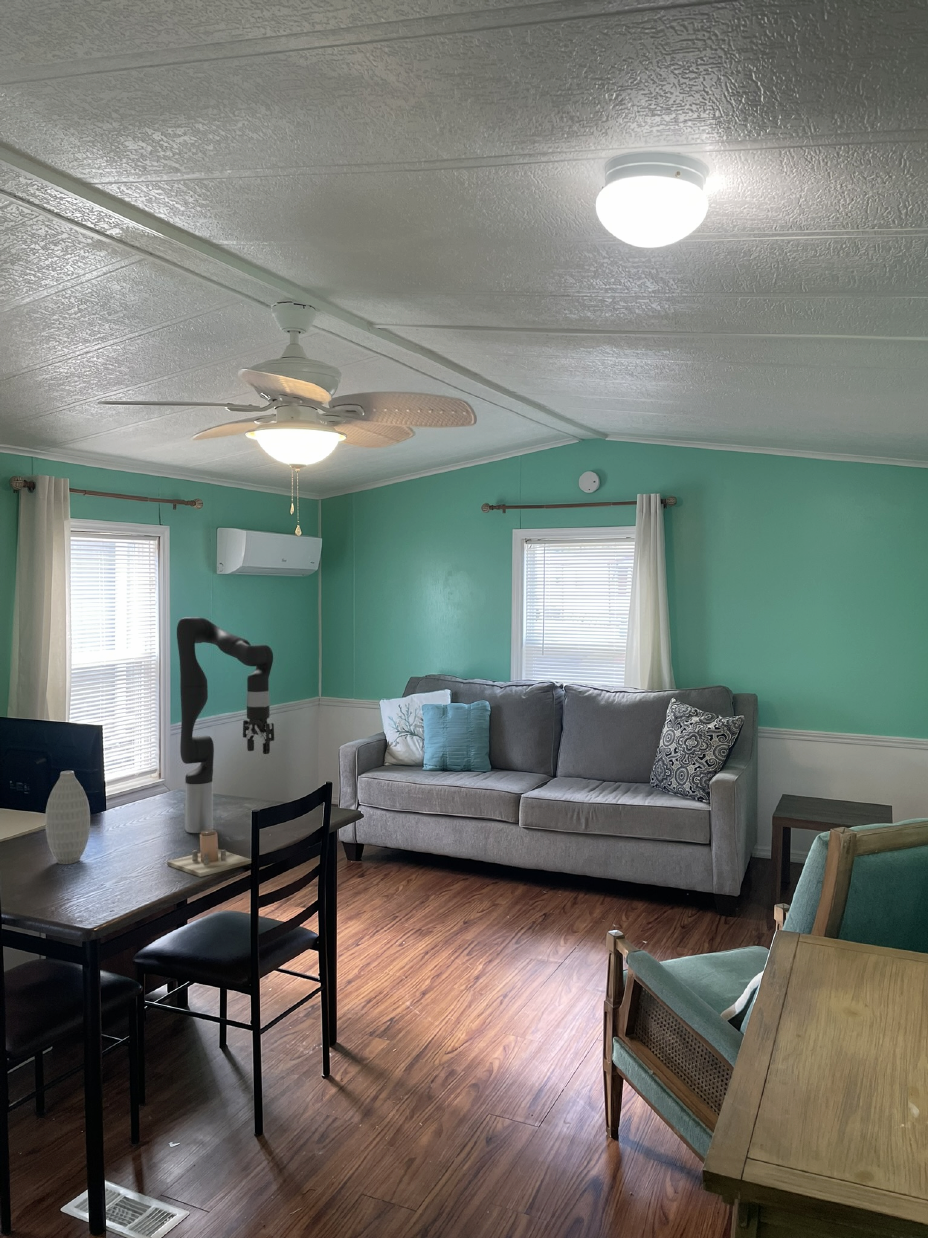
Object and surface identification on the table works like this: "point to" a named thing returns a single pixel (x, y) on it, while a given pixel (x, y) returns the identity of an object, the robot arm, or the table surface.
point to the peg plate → (208, 868)
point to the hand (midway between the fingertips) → (258, 752)
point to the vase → (67, 819)
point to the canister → (209, 845)
